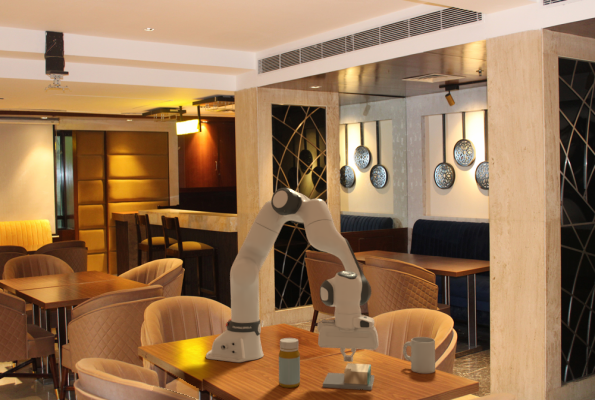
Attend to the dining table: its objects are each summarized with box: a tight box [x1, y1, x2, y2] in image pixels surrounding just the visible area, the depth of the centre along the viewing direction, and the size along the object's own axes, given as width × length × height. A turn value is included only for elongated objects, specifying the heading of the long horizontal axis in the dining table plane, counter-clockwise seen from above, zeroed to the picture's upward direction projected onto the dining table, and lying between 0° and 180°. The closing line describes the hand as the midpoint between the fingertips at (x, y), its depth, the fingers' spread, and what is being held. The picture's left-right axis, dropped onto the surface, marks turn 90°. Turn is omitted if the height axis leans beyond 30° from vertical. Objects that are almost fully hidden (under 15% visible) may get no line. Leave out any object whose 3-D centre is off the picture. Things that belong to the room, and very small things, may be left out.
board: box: [322, 372, 375, 391], centre depth 194 cm, size 16×12×1 cm
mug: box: [402, 336, 436, 374], centre depth 208 cm, size 12×8×11 cm
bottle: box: [278, 337, 301, 389], centre depth 192 cm, size 7×7×15 cm
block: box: [343, 362, 372, 385], centre depth 193 cm, size 4×9×8 cm
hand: (348, 361), depth 194 cm, fingers closed
